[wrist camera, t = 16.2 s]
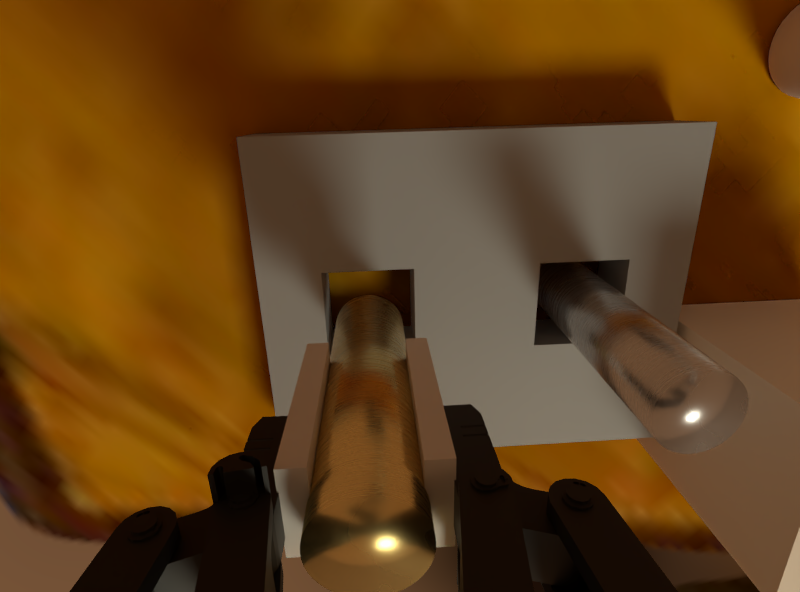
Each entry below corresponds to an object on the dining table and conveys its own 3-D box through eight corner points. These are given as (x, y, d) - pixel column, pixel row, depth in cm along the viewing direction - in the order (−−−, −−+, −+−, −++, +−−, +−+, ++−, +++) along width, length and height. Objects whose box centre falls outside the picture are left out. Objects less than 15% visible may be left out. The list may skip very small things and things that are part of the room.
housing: (656, 306, 27) (834, 427, 17) (807, 298, 27) (1072, 413, 17) (634, 435, 30) (772, 606, 20) (769, 427, 30) (974, 591, 20)
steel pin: (531, 256, 25) (659, 372, 14) (588, 254, 26) (758, 367, 14) (528, 309, 26) (643, 456, 15) (582, 307, 27) (736, 450, 15)
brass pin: (333, 296, 21) (293, 499, 10) (402, 293, 22) (436, 491, 10) (338, 357, 22) (306, 602, 11) (403, 354, 23) (436, 593, 11)
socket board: (253, 133, 22) (236, 137, 20) (675, 120, 23) (716, 121, 21) (290, 424, 28) (281, 459, 25) (628, 405, 29) (656, 437, 26)
